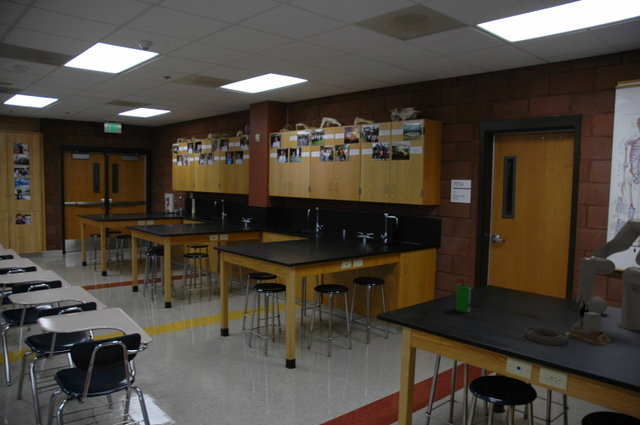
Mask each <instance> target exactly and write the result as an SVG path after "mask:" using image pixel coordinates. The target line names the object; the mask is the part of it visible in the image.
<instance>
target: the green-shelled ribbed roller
mask: <svg viewBox="0 0 640 425" xmlns="http://www.w3.org/2000/svg"><path fill="white" fill-rule="evenodd" d="M459 283H460V284H459ZM456 288H457V289H456V300H455V310H456V311H457V312H461V313H469V312H471V306H469V304H471V297H472V296H471V295H472V291H471V290H472V288H471V287H469V284H466V283H465V280H464V279H463V278H459V279H458V284H457V286H456Z"/></svg>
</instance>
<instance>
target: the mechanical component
mask: <svg viewBox="0 0 640 425" xmlns="http://www.w3.org/2000/svg"><path fill="white" fill-rule="evenodd" d="M565 333H566V332H563V331H560V330H558V329H553V328H548V327H541V326H531V327H530V326H529V327H526V328H525V329H524V337H525V338H526V339H528V340H530V341H532V342H535V343H540V344H543V345H550V346H561V345H562V346H564V345H567V344H568V339H569V338H568V335H566V334H565Z"/></svg>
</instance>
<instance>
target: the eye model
mask: <svg viewBox="0 0 640 425" xmlns="http://www.w3.org/2000/svg"><path fill="white" fill-rule="evenodd" d="M607 309H608V302H607V301H606V300H605V299H604V298H603V297H601V296H597V295H596V296H594V295H593V300H592V303H590V304H589V308H588V311H589V312H596V313H599V314H601V315H602V314H603V313H605V312H606V311H607Z"/></svg>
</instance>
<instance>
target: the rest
mask: <svg viewBox="0 0 640 425" xmlns="http://www.w3.org/2000/svg"><path fill="white" fill-rule="evenodd" d="M564 333H565V334H566V335H568V339H573V340H577V341H580V342H586V343H589V344H593V345H597V346H601V347H603V346H605V345H607V344H608V343H610V342H611V341H613V338H611V337H608V332H606V331H601V330H600V333H599V336H597V335H593V334H588V333H584V332H583V327H580V326H576V330H572V329H568V331H566V332H564Z"/></svg>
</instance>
